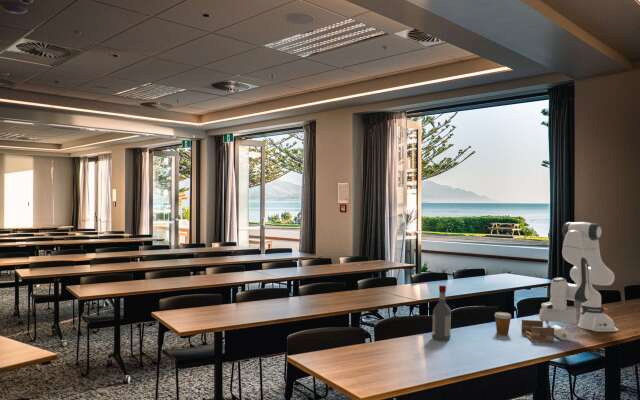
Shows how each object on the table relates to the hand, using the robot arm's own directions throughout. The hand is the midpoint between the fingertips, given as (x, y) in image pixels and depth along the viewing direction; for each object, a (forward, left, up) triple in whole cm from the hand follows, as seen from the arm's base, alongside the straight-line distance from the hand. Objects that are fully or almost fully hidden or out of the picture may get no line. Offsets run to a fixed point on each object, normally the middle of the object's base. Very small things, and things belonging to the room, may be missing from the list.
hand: (557, 329), depth 289 cm
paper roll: (-2, 0, -2) cm, 3 cm away
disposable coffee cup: (+31, -3, -5) cm, 31 cm away
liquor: (+70, +15, -5) cm, 72 cm away
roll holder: (+13, +3, -5) cm, 14 cm away
